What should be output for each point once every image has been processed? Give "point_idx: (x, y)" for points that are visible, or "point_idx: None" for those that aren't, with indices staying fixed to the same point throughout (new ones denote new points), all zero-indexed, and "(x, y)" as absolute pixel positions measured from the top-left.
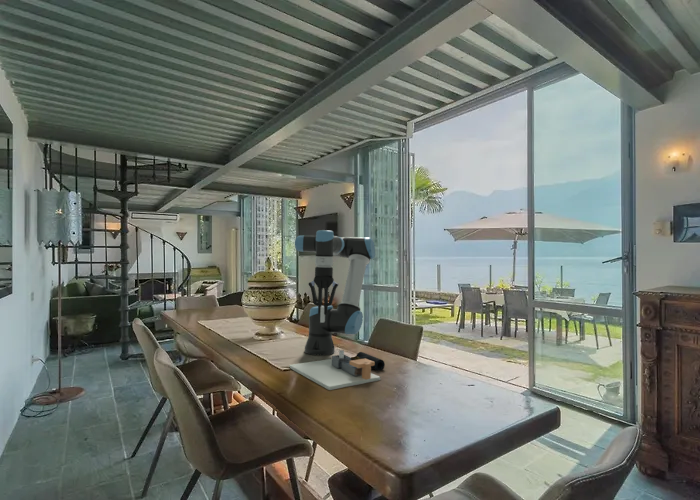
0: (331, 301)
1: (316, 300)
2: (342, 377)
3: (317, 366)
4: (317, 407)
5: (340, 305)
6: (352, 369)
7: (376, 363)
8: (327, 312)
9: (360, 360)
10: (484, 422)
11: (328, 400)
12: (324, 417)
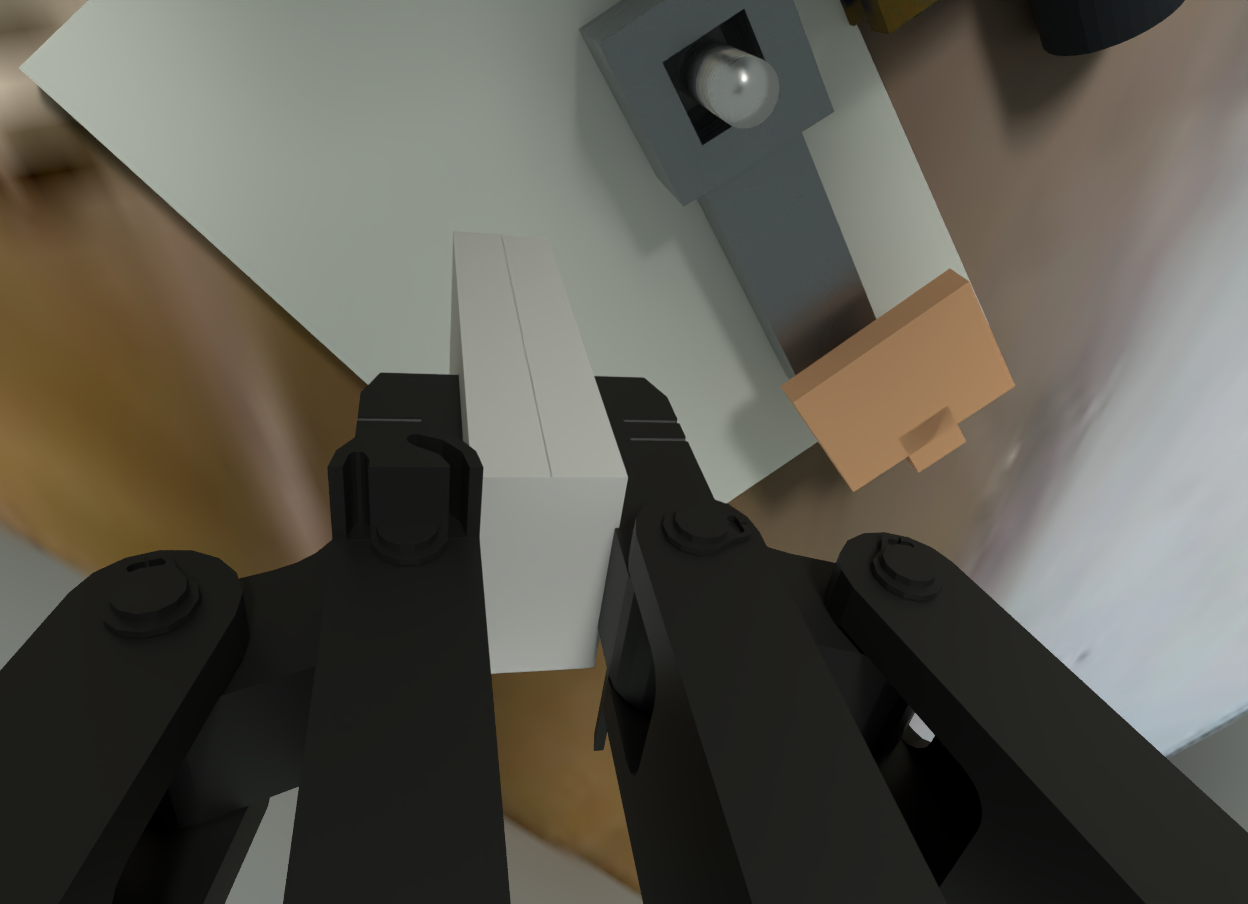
0: (948, 842)
1: (126, 770)
2: (688, 398)
3: (411, 83)
4: (550, 768)
5: None
6: (791, 373)
7: (1084, 50)
8: (668, 406)
9: (899, 367)
10: (1174, 712)
11: (597, 696)
12: (592, 826)
